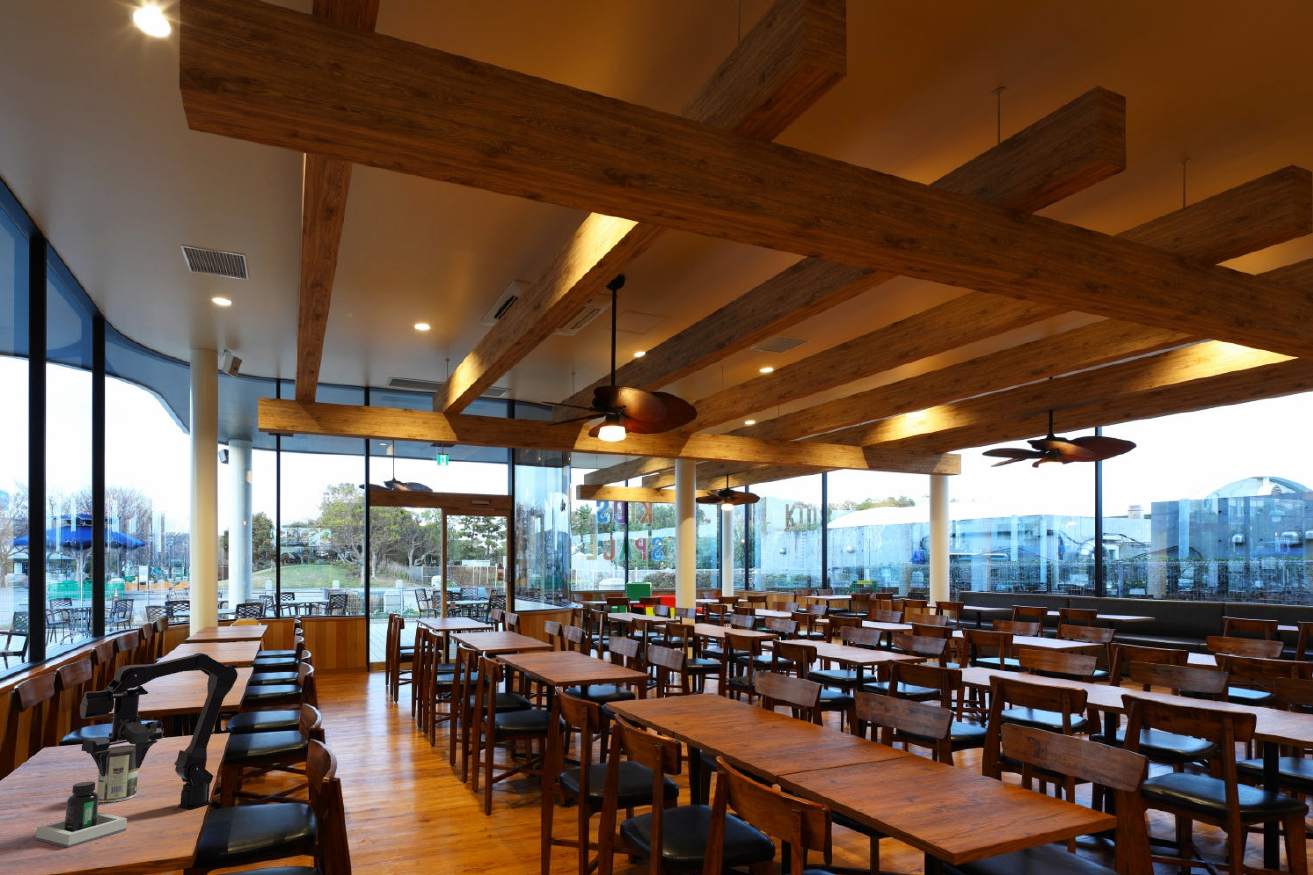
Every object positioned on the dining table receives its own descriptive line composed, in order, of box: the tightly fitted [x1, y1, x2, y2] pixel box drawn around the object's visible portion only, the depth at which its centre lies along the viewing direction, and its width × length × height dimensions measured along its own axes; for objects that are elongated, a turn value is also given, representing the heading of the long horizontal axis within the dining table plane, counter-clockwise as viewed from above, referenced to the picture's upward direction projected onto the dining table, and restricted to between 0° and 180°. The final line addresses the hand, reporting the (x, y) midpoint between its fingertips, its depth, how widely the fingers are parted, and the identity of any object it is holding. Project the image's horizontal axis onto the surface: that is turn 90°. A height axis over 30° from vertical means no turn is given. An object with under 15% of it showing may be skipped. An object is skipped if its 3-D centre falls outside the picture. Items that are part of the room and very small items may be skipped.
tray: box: [35, 811, 128, 848], centre depth 210 cm, size 14×14×3 cm
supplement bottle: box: [64, 780, 99, 832], centre depth 210 cm, size 7×7×12 cm
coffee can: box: [96, 744, 139, 804], centre depth 243 cm, size 10×10×14 cm
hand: (120, 772), depth 221 cm, fingers open, 9 cm apart
